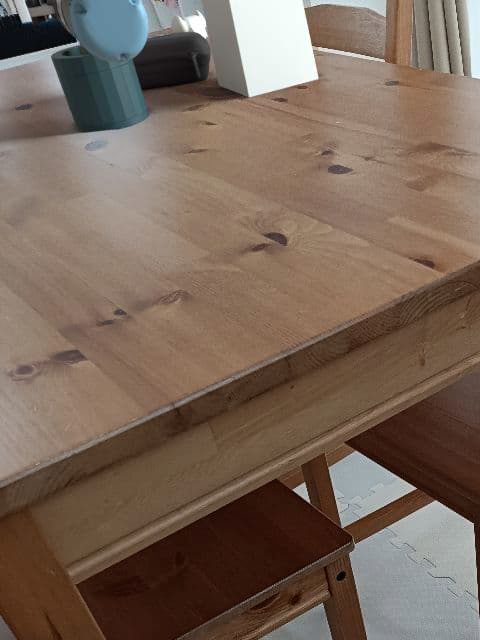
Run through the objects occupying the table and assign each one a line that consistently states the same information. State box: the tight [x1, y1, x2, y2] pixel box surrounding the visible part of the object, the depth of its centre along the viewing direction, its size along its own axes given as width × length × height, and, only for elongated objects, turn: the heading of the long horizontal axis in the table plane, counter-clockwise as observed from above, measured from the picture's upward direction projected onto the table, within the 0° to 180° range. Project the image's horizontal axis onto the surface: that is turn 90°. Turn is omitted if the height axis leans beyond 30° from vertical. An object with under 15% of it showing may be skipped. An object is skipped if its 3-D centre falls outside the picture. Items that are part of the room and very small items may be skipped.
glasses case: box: [132, 32, 212, 90], centre depth 125 cm, size 18×10×8 cm, turn 96°
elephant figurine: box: [170, 9, 209, 40], centre depth 144 cm, size 7×8×6 cm
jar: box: [50, 44, 149, 133], centre depth 109 cm, size 10×10×9 cm
